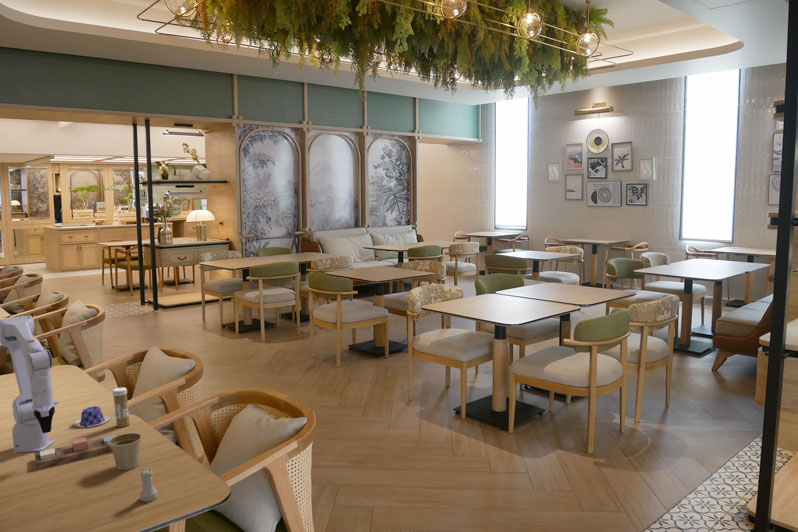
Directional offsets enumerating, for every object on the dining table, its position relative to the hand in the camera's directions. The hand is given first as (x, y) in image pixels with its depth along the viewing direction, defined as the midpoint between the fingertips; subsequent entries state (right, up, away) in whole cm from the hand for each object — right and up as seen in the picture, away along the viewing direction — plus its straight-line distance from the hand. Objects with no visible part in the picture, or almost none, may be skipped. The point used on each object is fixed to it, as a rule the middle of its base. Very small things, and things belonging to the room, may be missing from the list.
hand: (46, 432), depth 193 cm
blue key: (+15, -7, +10) cm, 20 cm away
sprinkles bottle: (+11, -6, +29) cm, 31 cm away
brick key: (+8, -7, +5) cm, 12 cm away
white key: (0, -9, +1) cm, 9 cm away
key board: (+8, -9, +5) cm, 13 cm away
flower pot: (+27, -9, -5) cm, 29 cm away
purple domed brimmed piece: (-2, -6, +33) cm, 34 cm away
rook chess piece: (+42, -12, -25) cm, 50 cm away
